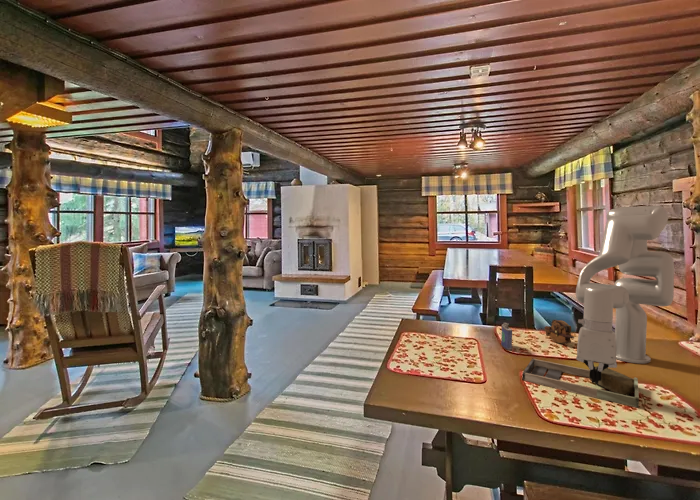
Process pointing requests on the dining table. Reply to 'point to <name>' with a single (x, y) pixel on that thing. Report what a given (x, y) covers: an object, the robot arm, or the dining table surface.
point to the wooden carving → (559, 331)
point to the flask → (506, 337)
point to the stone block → (616, 382)
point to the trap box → (553, 381)
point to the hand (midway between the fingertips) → (595, 381)
